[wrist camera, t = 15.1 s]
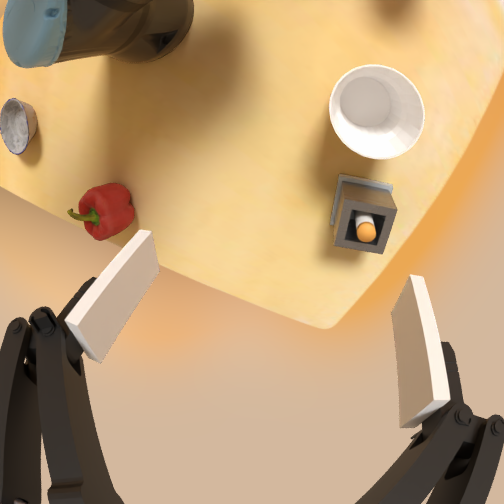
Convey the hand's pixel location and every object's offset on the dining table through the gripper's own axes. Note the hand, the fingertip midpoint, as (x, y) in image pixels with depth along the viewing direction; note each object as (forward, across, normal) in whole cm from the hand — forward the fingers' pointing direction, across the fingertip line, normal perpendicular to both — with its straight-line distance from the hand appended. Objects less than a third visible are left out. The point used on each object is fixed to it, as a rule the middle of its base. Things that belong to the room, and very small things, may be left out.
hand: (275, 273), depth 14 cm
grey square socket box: (+28, +9, -9) cm, 31 cm away
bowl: (+29, -58, +4) cm, 65 cm away
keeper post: (+29, +9, -9) cm, 31 cm away
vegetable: (+29, -33, -14) cm, 46 cm away
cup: (+29, +7, +6) cm, 30 cm away
